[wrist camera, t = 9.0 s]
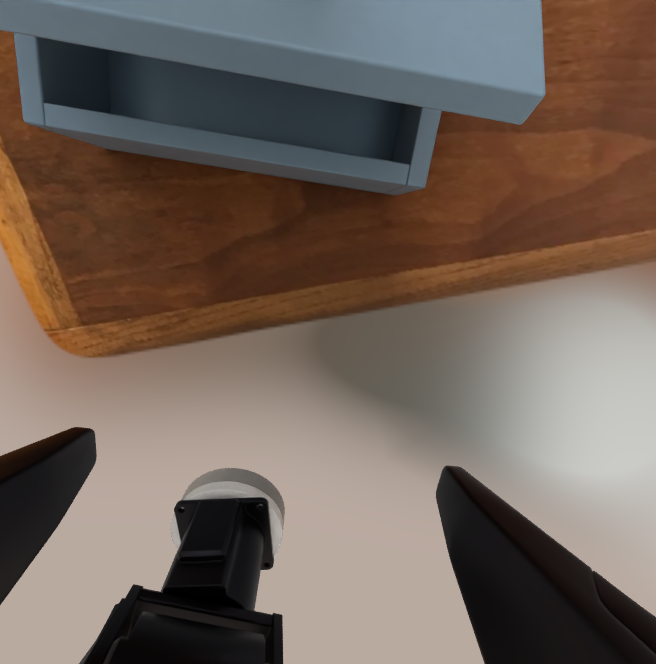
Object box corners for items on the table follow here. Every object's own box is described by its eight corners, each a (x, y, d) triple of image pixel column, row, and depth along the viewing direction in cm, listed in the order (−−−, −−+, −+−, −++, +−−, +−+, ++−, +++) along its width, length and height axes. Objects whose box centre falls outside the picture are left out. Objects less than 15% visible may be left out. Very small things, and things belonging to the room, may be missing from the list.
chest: (396, 195, 19) (425, 188, 14) (104, 148, 18) (22, 122, 13) (450, -78, 16) (513, -218, 11) (89, -159, 14) (-33, -359, 9)
